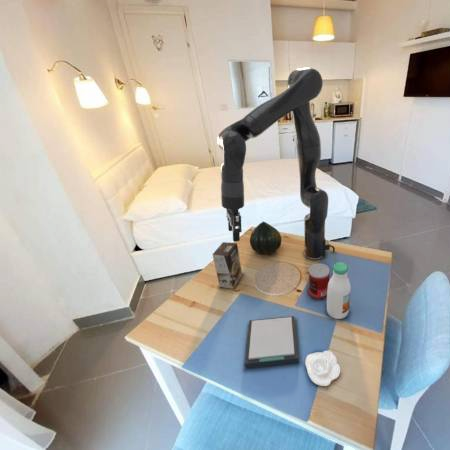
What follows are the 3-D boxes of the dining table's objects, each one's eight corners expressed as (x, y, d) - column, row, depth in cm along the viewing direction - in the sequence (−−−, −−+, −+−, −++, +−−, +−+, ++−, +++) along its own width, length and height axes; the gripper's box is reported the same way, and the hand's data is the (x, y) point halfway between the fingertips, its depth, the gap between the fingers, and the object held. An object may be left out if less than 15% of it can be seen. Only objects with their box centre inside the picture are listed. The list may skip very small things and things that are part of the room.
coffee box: (234, 289, 99) (227, 256, 91) (219, 287, 100) (211, 254, 93) (243, 274, 107) (237, 242, 99) (229, 272, 108) (222, 241, 100)
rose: (344, 349, 71) (337, 383, 63) (343, 358, 73) (336, 392, 65) (310, 339, 74) (299, 370, 66) (310, 349, 76) (299, 380, 68)
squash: (267, 254, 110) (276, 222, 112) (240, 248, 116) (249, 217, 118) (281, 259, 123) (289, 229, 125) (256, 252, 129) (263, 225, 131)
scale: (294, 320, 85) (294, 314, 84) (298, 363, 72) (298, 356, 70) (250, 325, 84) (249, 318, 82) (246, 368, 71) (244, 362, 69)
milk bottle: (334, 323, 84) (337, 277, 74) (322, 307, 90) (323, 263, 80) (353, 314, 87) (358, 269, 77) (340, 299, 93) (343, 256, 83)
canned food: (330, 287, 99) (331, 265, 94) (326, 301, 92) (326, 278, 87) (312, 283, 101) (312, 261, 96) (306, 297, 95) (306, 274, 89)
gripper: (249, 199, 80) (248, 243, 87) (239, 186, 92) (239, 226, 98) (225, 200, 77) (226, 246, 84) (218, 187, 88) (220, 228, 95)
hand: (233, 235), depth 91 cm, fingers open, 8 cm apart
